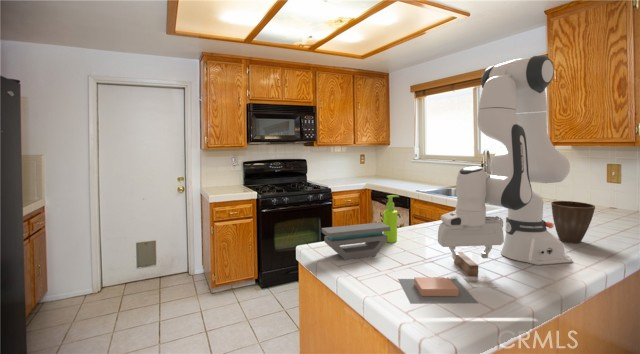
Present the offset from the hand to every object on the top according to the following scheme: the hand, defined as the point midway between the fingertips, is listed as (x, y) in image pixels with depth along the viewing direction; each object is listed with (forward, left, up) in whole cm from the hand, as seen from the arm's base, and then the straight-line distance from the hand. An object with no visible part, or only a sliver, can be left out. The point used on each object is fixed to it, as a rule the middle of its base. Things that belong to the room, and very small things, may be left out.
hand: (470, 258), depth 111 cm
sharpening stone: (+36, -18, -5) cm, 40 cm away
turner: (+1, +3, -5) cm, 6 cm away
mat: (+16, +14, -5) cm, 22 cm away
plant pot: (-57, -35, -5) cm, 67 cm away
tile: (+16, +11, -3) cm, 19 cm away
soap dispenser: (+19, -37, -5) cm, 41 cm away
